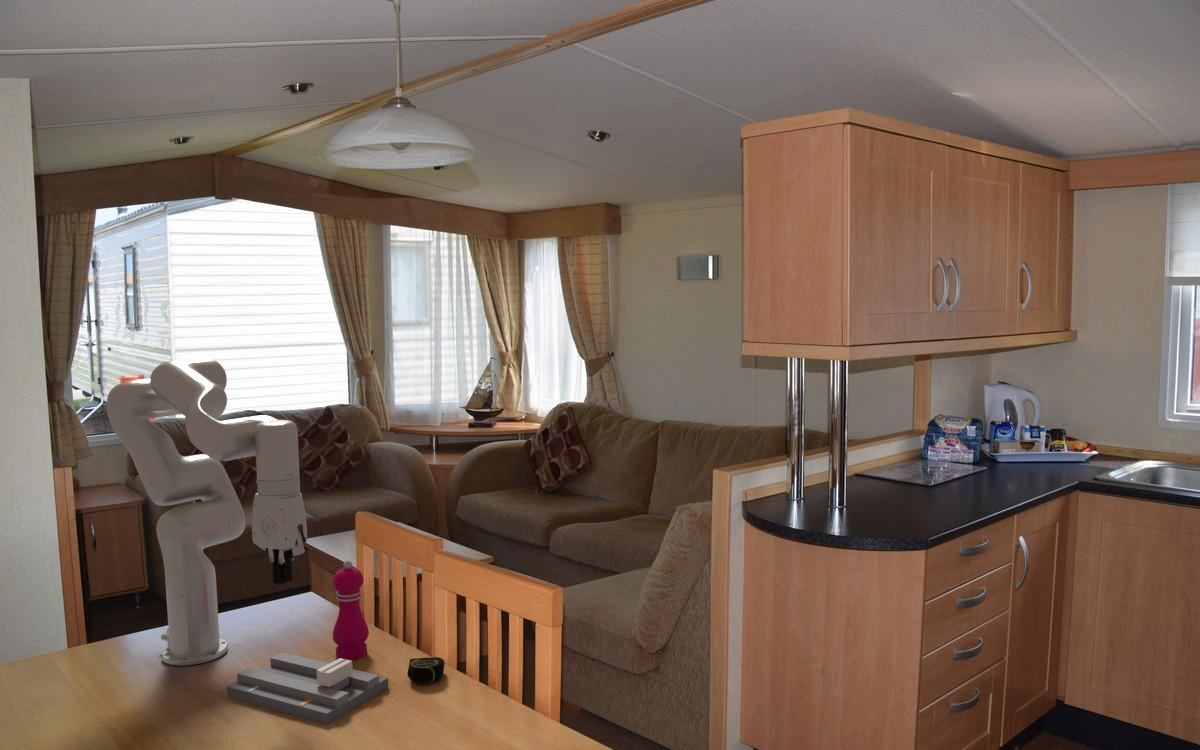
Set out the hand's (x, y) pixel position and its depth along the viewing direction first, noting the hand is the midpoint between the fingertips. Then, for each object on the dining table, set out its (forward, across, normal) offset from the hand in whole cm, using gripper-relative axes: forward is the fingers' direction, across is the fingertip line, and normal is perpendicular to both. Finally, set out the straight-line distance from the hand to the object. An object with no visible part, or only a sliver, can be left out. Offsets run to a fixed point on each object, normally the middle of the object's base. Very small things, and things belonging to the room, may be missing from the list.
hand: (282, 581), depth 172 cm
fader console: (+21, +6, 0) cm, 21 cm away
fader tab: (+18, +12, 0) cm, 22 cm away
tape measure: (+21, +22, +14) cm, 33 cm away
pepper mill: (+21, 0, +17) cm, 27 cm away
